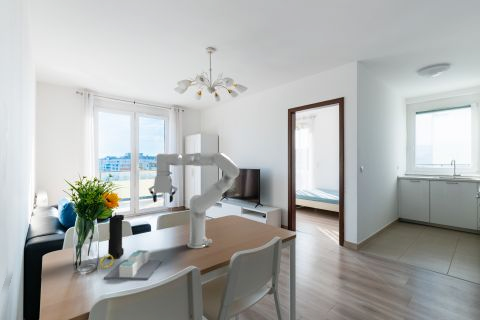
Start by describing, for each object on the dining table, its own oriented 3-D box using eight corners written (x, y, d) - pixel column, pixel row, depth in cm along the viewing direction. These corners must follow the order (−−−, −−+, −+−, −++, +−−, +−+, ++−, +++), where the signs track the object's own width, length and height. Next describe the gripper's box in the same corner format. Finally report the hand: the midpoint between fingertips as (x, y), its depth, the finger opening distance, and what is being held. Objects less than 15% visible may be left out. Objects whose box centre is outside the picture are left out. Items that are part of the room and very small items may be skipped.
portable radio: (113, 253, 131) (113, 210, 131) (124, 253, 132) (124, 210, 132) (106, 259, 123) (107, 213, 123) (118, 259, 124) (118, 213, 124)
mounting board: (161, 262, 121) (162, 249, 121) (147, 279, 103) (147, 265, 103) (124, 261, 121) (124, 249, 121) (103, 279, 103) (103, 265, 103)
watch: (102, 270, 112) (101, 258, 112) (99, 268, 114) (98, 256, 114) (114, 264, 117) (113, 253, 117) (112, 263, 119) (111, 252, 118)
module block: (142, 264, 115) (142, 251, 115) (136, 269, 109) (136, 256, 109) (134, 263, 115) (134, 251, 115) (128, 269, 109) (128, 256, 109)
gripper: (178, 173, 143) (178, 201, 143) (151, 173, 143) (151, 200, 143) (175, 174, 135) (175, 203, 135) (146, 174, 135) (146, 203, 135)
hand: (163, 202), depth 139 cm, fingers open, 9 cm apart
